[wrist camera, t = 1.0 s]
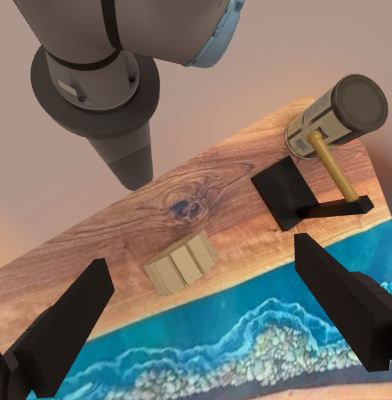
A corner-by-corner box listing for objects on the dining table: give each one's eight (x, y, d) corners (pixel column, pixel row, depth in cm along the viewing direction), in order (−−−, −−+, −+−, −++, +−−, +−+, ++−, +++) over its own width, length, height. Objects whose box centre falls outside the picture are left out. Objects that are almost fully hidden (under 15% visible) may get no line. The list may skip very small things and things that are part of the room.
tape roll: (145, 260, 38) (140, 272, 27) (196, 229, 40) (210, 228, 30) (159, 284, 38) (160, 305, 27) (209, 251, 40) (228, 258, 29)
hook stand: (246, 172, 44) (292, 142, 29) (281, 151, 46) (341, 113, 31) (282, 231, 44) (348, 231, 28) (316, 207, 46) (393, 196, 31)
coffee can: (328, 129, 49) (393, 90, 36) (317, 167, 47) (383, 141, 34) (290, 110, 48) (343, 62, 35) (278, 148, 46) (329, 113, 33)
